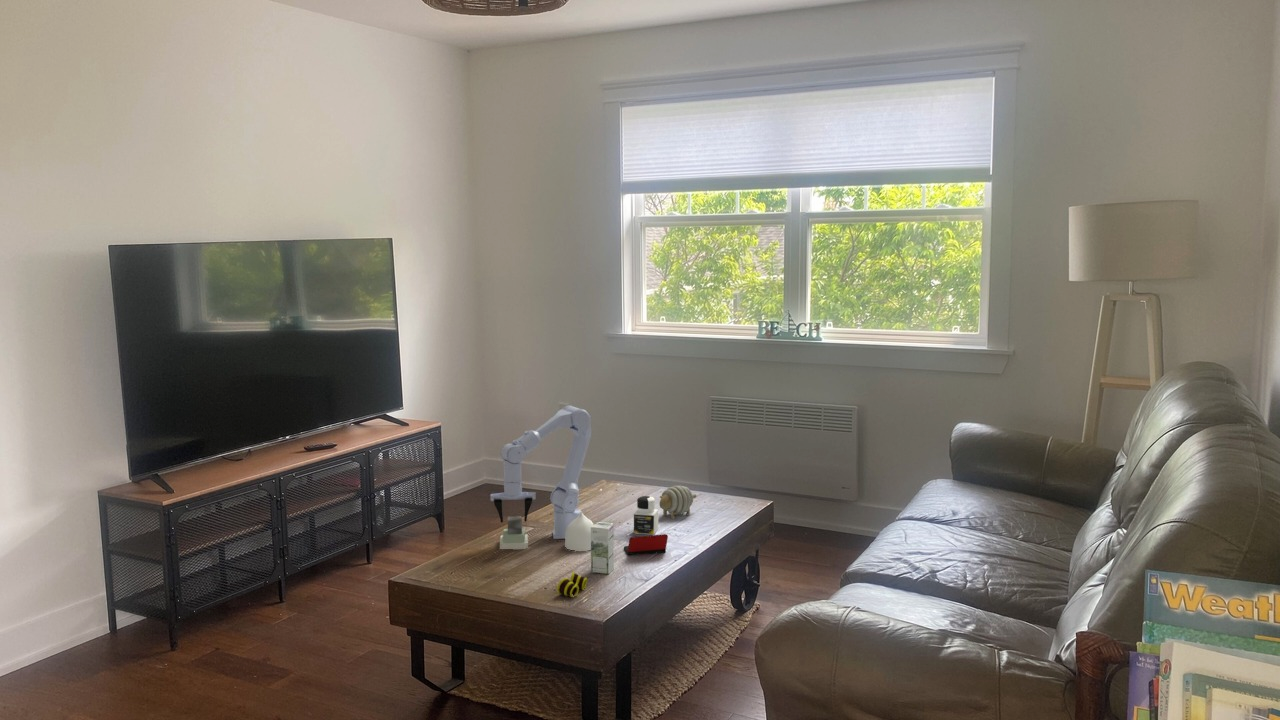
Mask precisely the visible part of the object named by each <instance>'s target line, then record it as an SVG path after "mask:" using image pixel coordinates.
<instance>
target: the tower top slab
mask: <svg viewBox="0 0 1280 720" xmlns="http://www.w3.org/2000/svg"><path fill="white" fill-rule="evenodd" d="M502 535H503V543H525V535H526V528H522V534H508V528H504V529H503V533H502Z"/></svg>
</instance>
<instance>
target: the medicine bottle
mask: <svg viewBox="0 0 1280 720" xmlns="http://www.w3.org/2000/svg"><path fill="white" fill-rule="evenodd" d="M636 505H637V507H636V508H637V510H635V512H634V513H633V533H634V534H638V535H648V536H650V535H656V534H655V533H657V531H658V529H659V509H658V508H656V506H655V505H656V499H655V498H654V497H653V496H650V495H644V496H643V495H642V496H640V497H637V500H636Z"/></svg>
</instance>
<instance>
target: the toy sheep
mask: <svg viewBox="0 0 1280 720" xmlns="http://www.w3.org/2000/svg"><path fill="white" fill-rule="evenodd" d="M659 498H660V499H659V504H658V505H659V507H660V509H662V510H663V512H662V513H663V514H662V515H663V516H664V517H667V514H668V513H669V514H670V518H671V519H672V518H674V519H675V515H676V516H679V515H683V514H685V513H686V516H689V515H690V513H691V509H690V508H691V506H692V505H693V502H694V499H696V498H697V494H695V493H692V490H691V489H689V487H688V486H685V485H684V486H683V485H672V486H671V487H668V488H666V489H665V490H664V491H662V493H661V495H660V496H659Z"/></svg>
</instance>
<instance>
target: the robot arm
mask: <svg viewBox="0 0 1280 720" xmlns="http://www.w3.org/2000/svg"><path fill="white" fill-rule="evenodd" d="M591 421H592V417H591V415H590V414H589V412H588V411H587V410H585V409H583V408H578V407H577V406H576V407H575V406H573V405H566V406H564V407H563V408H562V409H559V410H558V411H557V412H556V414H554V416H552V417H551V418H549V419H548V420H546V421H545V422H544V423H543V424H542V425H541V426H540V427H538V428H537V429H536V430H532V429H530V430H525V431H524V432H523V435H521V436H520V437H518V438H517V439H513V440H512V441H511V443H506V444H504V446H503V447H502V449H501V451H500V453H499V455H500V458H501V459H502V460H503V489H504V490H503V491H504V492H498V493H497V492H496V493H491V494H490V502H493V504H494V507H495V509H496V510H497V513H498V516H499V519H500V523H504V513H503V501H513V500H517V501H518V500H524V518H523V519H524V522H525V523H526V522H527V520H528V514H529V511H530V508H531V507H532V504H533V500H536V499H537V498H536V491H535V492H533V491H532V492H531V491H523V486H522V480H523V479H522V462H523V460H524V459H525V456H526V455H527V454H529V453H530V452H532V451H533V450H535V449H536V448H537V447H538V446H540V445H541V442H542V440H543V438H545V437H547V436H548V435H550V434H552V433H553V432H555V431H557V430H559V428H570V430H571V432H572V434H573V435H574V436H573V439H572V442H571V443H572V444H571V447H570V450H569V452H568V457H567V459H566V463H565V468H564V470H563V474H562V476H561V479H560V480H559V482H557V483H556V485H555V488H554V489H553V490H552V492H551V494H550V497H549V498H550V502H551V504H553V520H554V521H553V527H554V528H553V530H552V537H553V540H558V539H559V540H560V539H564V540H565V534H566V530H567V527H568V526H569V524H570V523H571V522H572V521H573V520H575V519H576V518H577V517H578V516H579V514H580V512H581V511H582V509H579V508H578V507H579V504H580V503H579V502H580V501H579V494H580V490H579V487H578V481H579V478H580V475H581V471H582V469H583V465H584V461H585V458H586V455H587V451H588V448H589V444H590V441H591V438H592V427H591Z"/></svg>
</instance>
